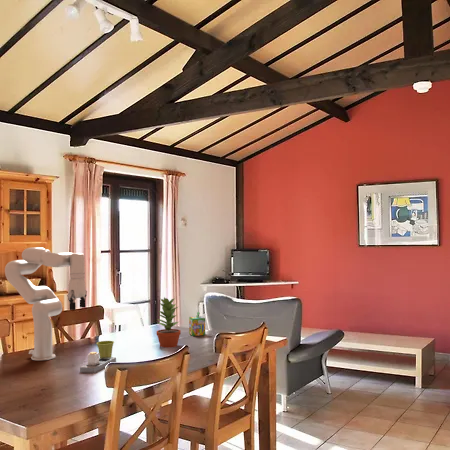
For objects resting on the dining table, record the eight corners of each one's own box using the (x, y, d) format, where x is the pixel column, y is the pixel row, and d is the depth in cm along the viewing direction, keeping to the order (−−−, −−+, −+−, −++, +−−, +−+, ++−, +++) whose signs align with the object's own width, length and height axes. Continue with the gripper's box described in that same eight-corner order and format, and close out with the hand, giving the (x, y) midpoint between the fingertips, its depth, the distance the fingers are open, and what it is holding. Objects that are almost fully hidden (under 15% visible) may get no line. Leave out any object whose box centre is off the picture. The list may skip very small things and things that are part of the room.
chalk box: (188, 334, 349) (188, 311, 349) (202, 333, 352) (201, 311, 352) (192, 336, 340) (191, 313, 340) (205, 335, 343) (205, 313, 343)
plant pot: (96, 361, 277) (96, 344, 277) (96, 357, 286) (96, 341, 286) (114, 359, 280) (114, 343, 280) (113, 355, 289) (113, 340, 289)
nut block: (87, 370, 258) (87, 353, 258) (92, 368, 262) (91, 351, 262) (95, 371, 257) (94, 353, 257) (99, 368, 261) (98, 351, 261)
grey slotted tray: (80, 372, 255) (79, 367, 255) (102, 361, 276) (102, 356, 276) (94, 373, 252) (94, 368, 252) (116, 362, 274) (115, 357, 274)
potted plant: (183, 343, 320) (182, 294, 320) (178, 348, 304) (177, 297, 305) (159, 343, 321) (158, 294, 322) (153, 348, 306) (152, 297, 306)
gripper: (79, 275, 285) (80, 306, 285) (61, 277, 269) (62, 310, 268) (92, 275, 283) (92, 306, 283) (74, 277, 267) (75, 311, 266)
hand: (77, 308), depth 276 cm, fingers open, 9 cm apart
